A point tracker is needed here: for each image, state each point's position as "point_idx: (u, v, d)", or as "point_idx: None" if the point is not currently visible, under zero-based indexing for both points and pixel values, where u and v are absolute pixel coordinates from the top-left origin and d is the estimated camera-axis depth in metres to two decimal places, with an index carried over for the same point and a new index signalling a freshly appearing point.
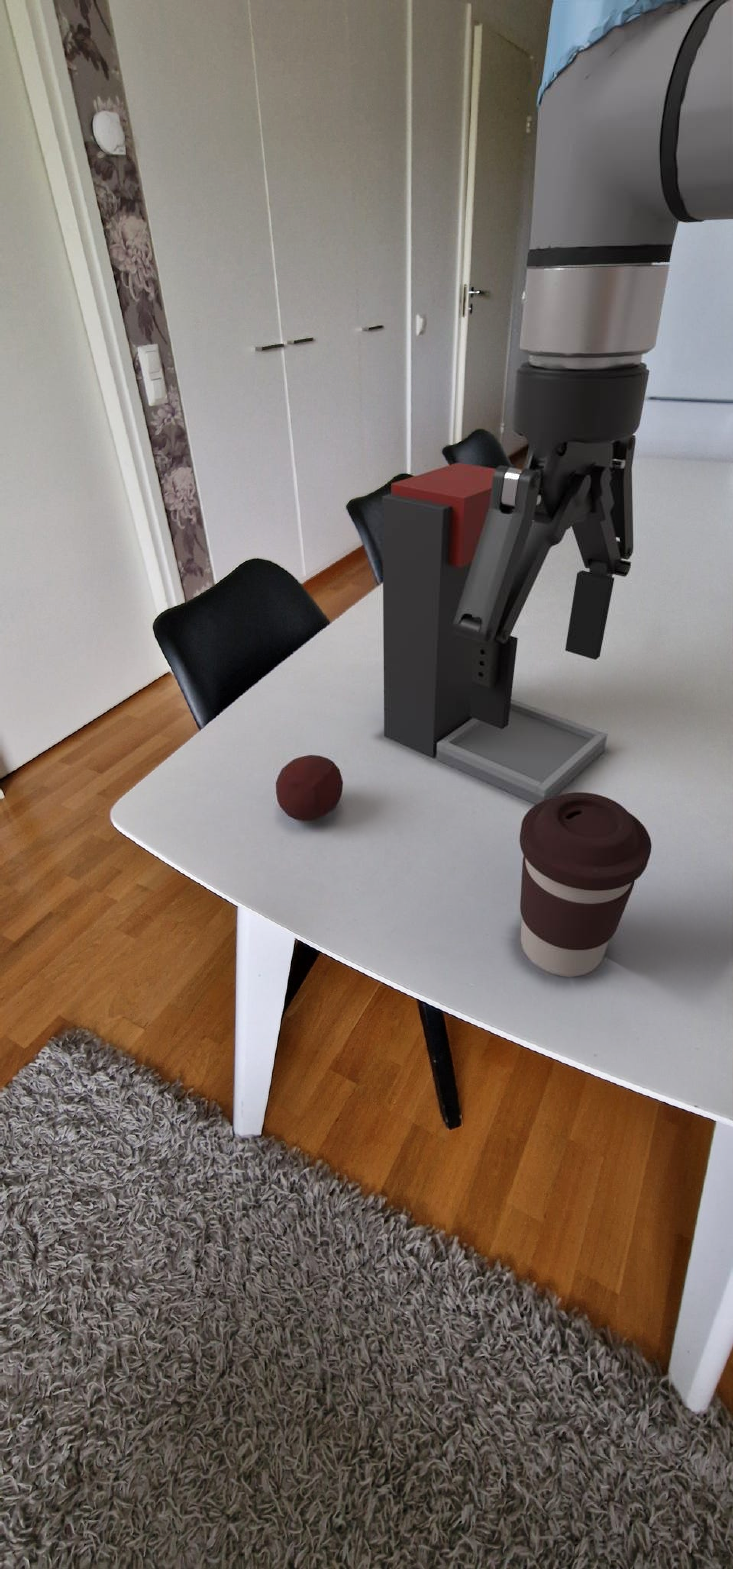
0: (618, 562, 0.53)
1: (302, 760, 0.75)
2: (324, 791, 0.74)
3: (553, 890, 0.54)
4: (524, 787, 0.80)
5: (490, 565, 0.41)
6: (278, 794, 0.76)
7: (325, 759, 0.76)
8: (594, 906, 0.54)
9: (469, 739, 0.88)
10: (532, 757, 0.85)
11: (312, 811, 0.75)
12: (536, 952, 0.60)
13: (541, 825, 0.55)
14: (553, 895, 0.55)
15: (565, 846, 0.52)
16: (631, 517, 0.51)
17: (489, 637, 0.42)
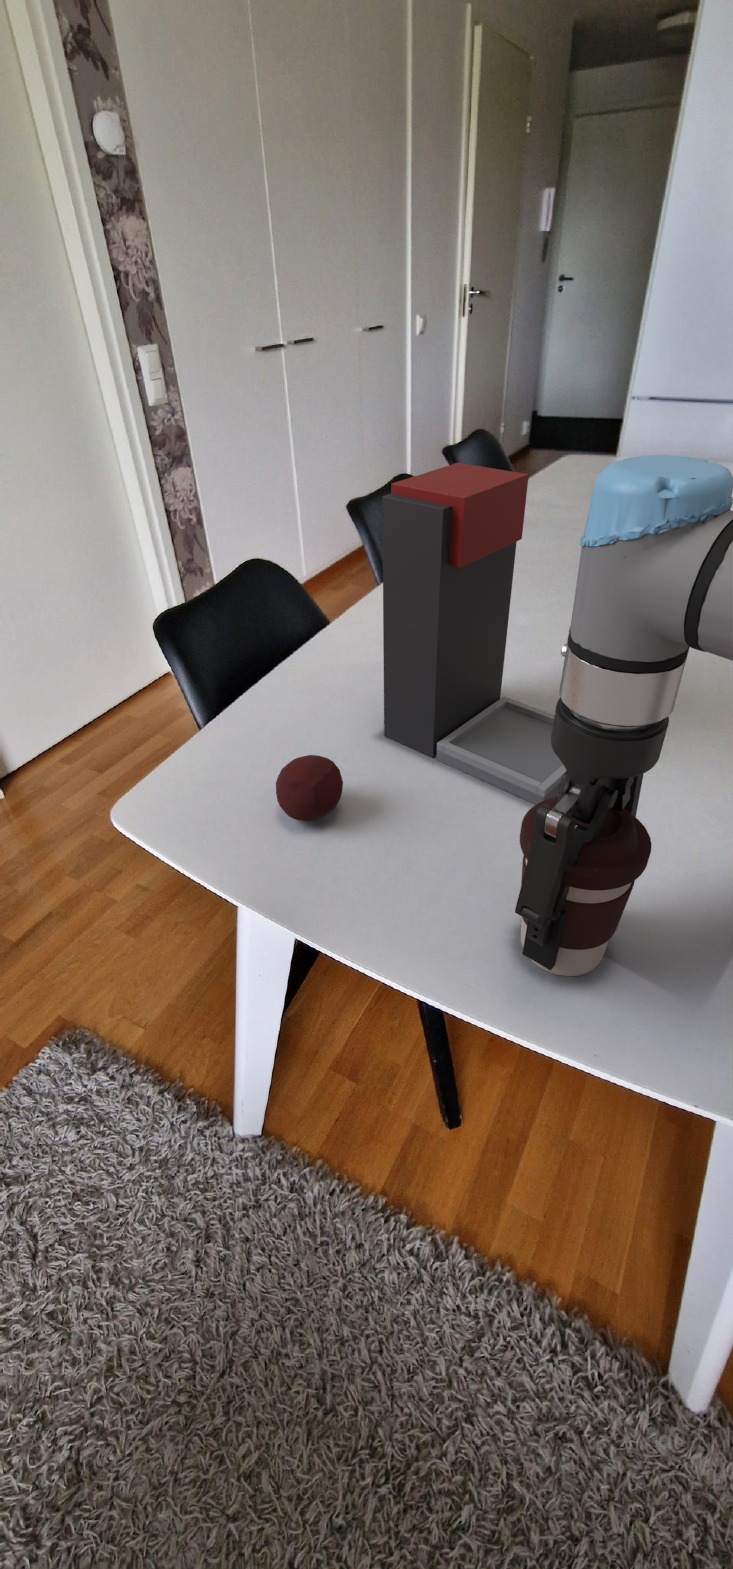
0: None
1: (302, 760, 0.75)
2: (324, 791, 0.74)
3: None
4: (524, 787, 0.80)
5: (540, 876, 0.51)
6: (278, 794, 0.76)
7: (325, 759, 0.76)
8: (594, 906, 0.54)
9: (469, 739, 0.88)
10: (532, 757, 0.85)
11: (312, 811, 0.75)
12: None
13: None
14: None
15: None
16: (637, 800, 0.59)
17: (546, 925, 0.52)
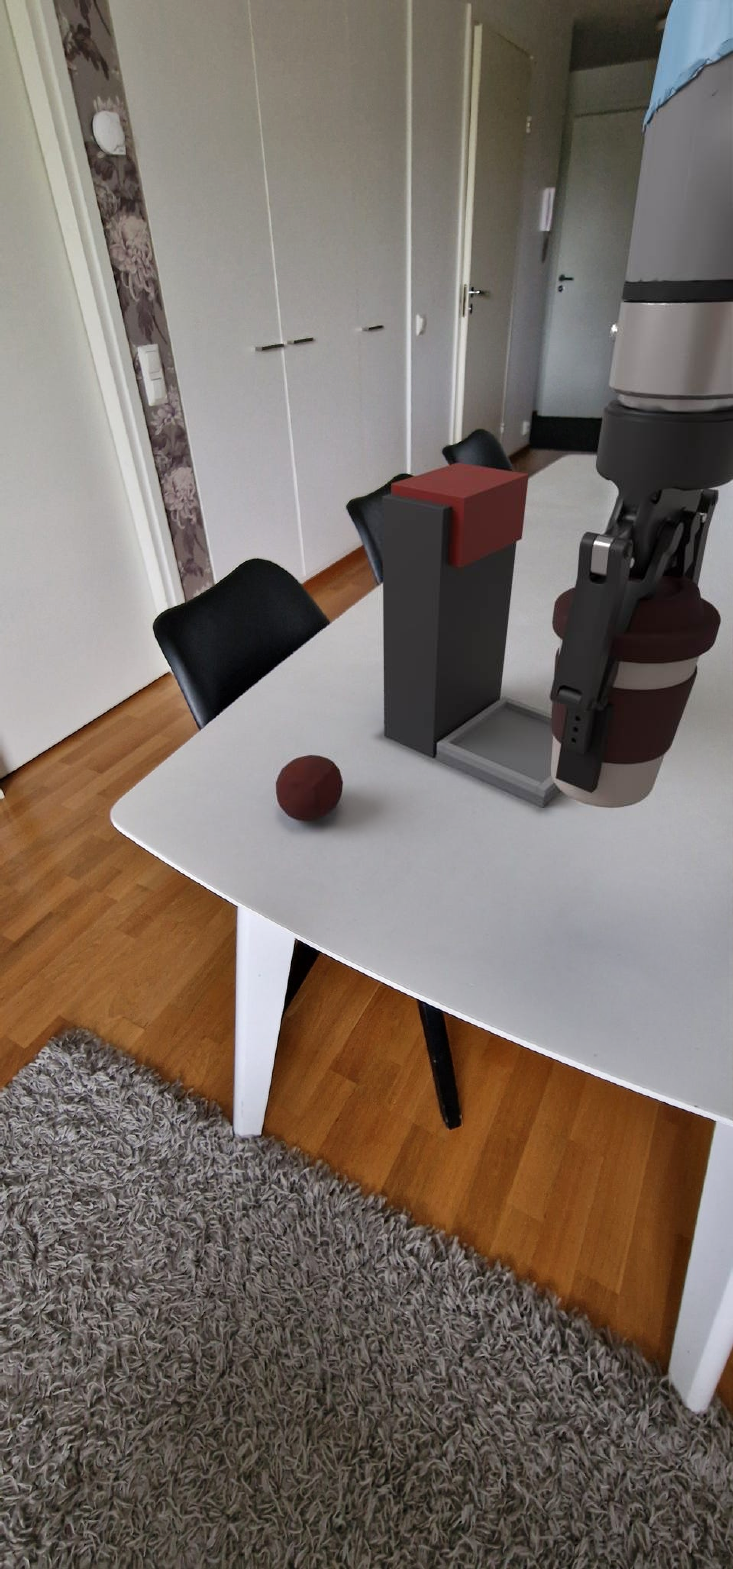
0: None
1: (302, 760, 0.75)
2: (324, 791, 0.74)
3: None
4: (524, 787, 0.80)
5: (584, 637, 0.39)
6: (278, 794, 0.76)
7: (325, 759, 0.76)
8: (649, 693, 0.43)
9: (469, 739, 0.88)
10: (532, 757, 0.85)
11: (312, 811, 0.75)
12: None
13: None
14: None
15: None
16: (697, 585, 0.48)
17: (591, 708, 0.41)
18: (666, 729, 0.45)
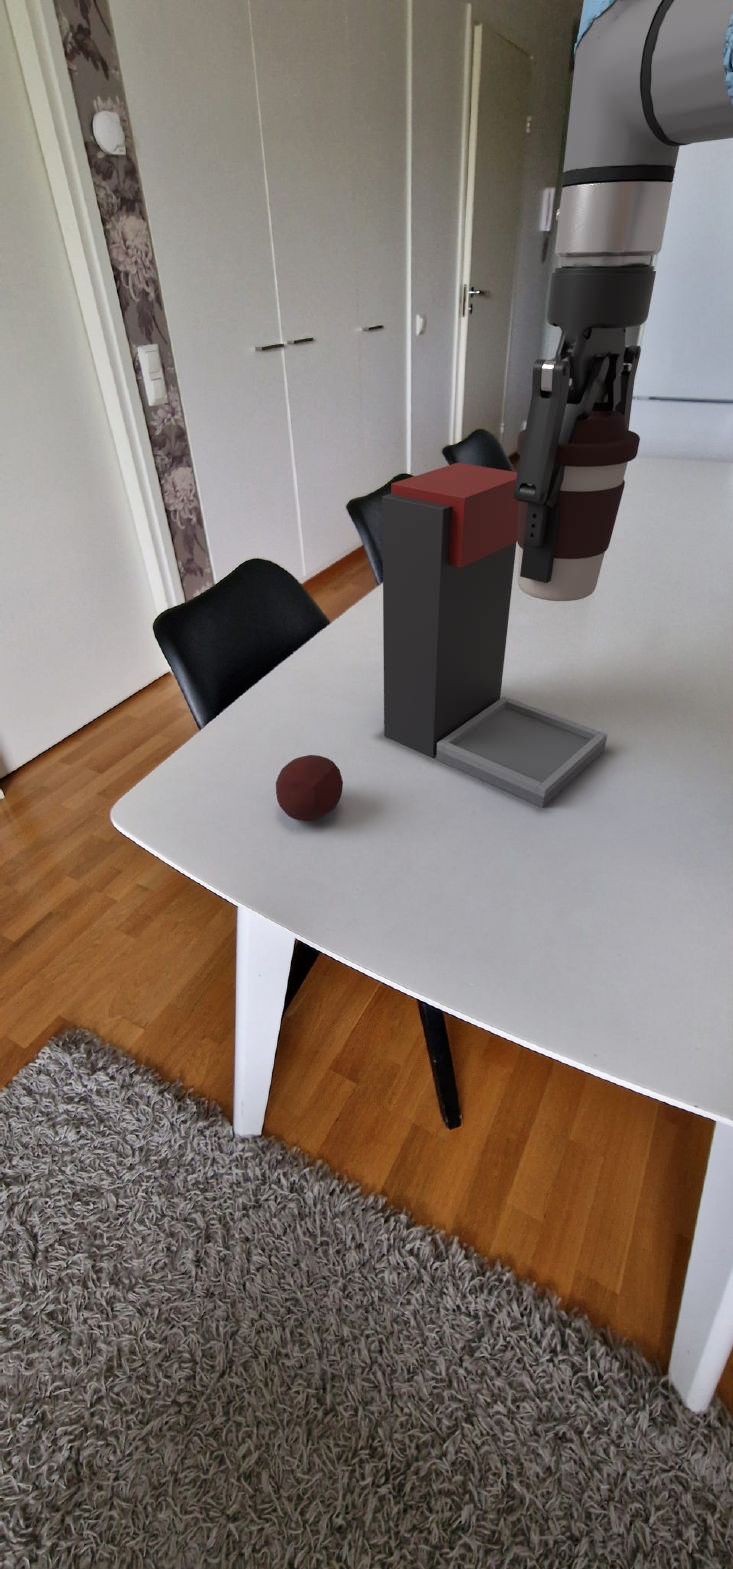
0: None
1: (302, 760, 0.75)
2: (324, 791, 0.74)
3: None
4: (524, 787, 0.80)
5: (537, 442, 0.54)
6: (278, 794, 0.76)
7: (325, 759, 0.76)
8: (587, 494, 0.58)
9: (469, 739, 0.88)
10: (532, 757, 0.85)
11: (312, 811, 0.75)
12: None
13: None
14: None
15: None
16: (628, 427, 0.63)
17: (542, 499, 0.56)
18: (601, 529, 0.60)
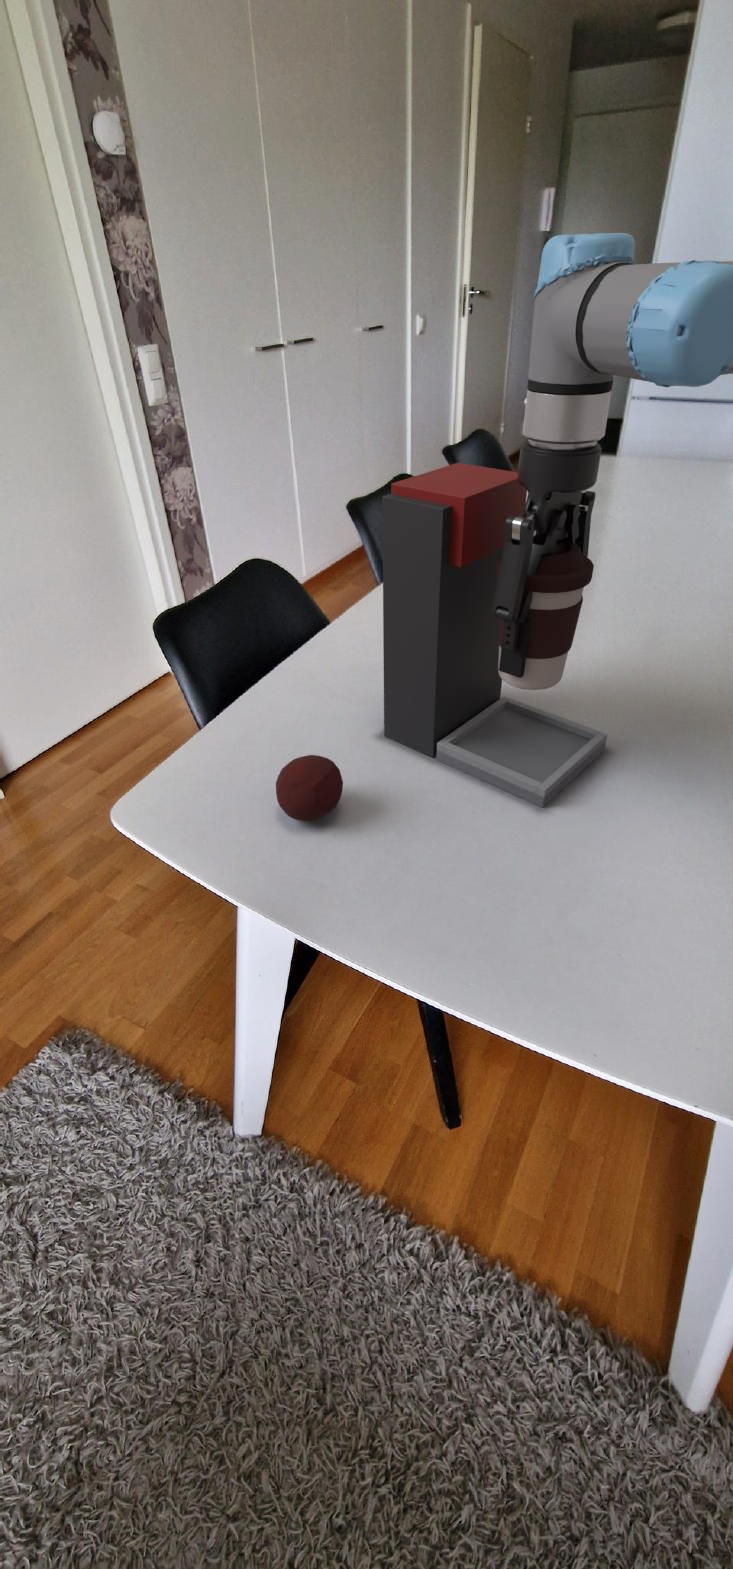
0: None
1: (302, 760, 0.75)
2: (324, 791, 0.74)
3: None
4: (524, 787, 0.80)
5: (509, 576, 0.69)
6: (278, 794, 0.76)
7: (325, 759, 0.76)
8: (550, 612, 0.72)
9: (469, 739, 0.88)
10: (532, 757, 0.85)
11: (312, 811, 0.75)
12: None
13: None
14: None
15: None
16: (587, 550, 0.77)
17: (514, 619, 0.70)
18: (563, 636, 0.74)
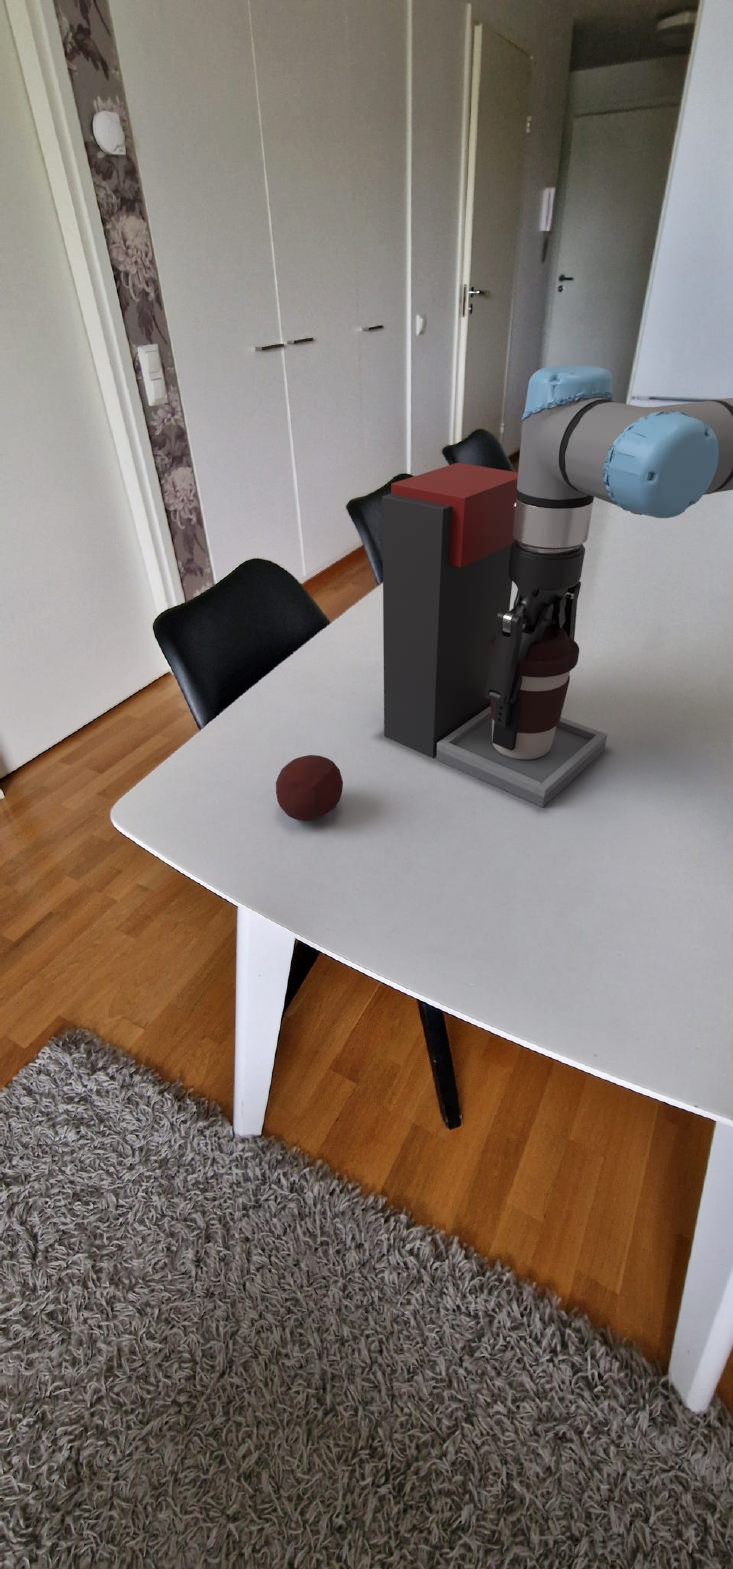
0: None
1: (302, 760, 0.75)
2: (324, 791, 0.74)
3: None
4: (524, 787, 0.80)
5: (501, 664, 0.74)
6: (278, 794, 0.76)
7: (325, 759, 0.76)
8: (539, 693, 0.78)
9: (469, 739, 0.88)
10: None
11: (312, 811, 0.75)
12: None
13: None
14: None
15: None
16: (574, 631, 0.83)
17: (505, 702, 0.76)
18: (552, 713, 0.80)
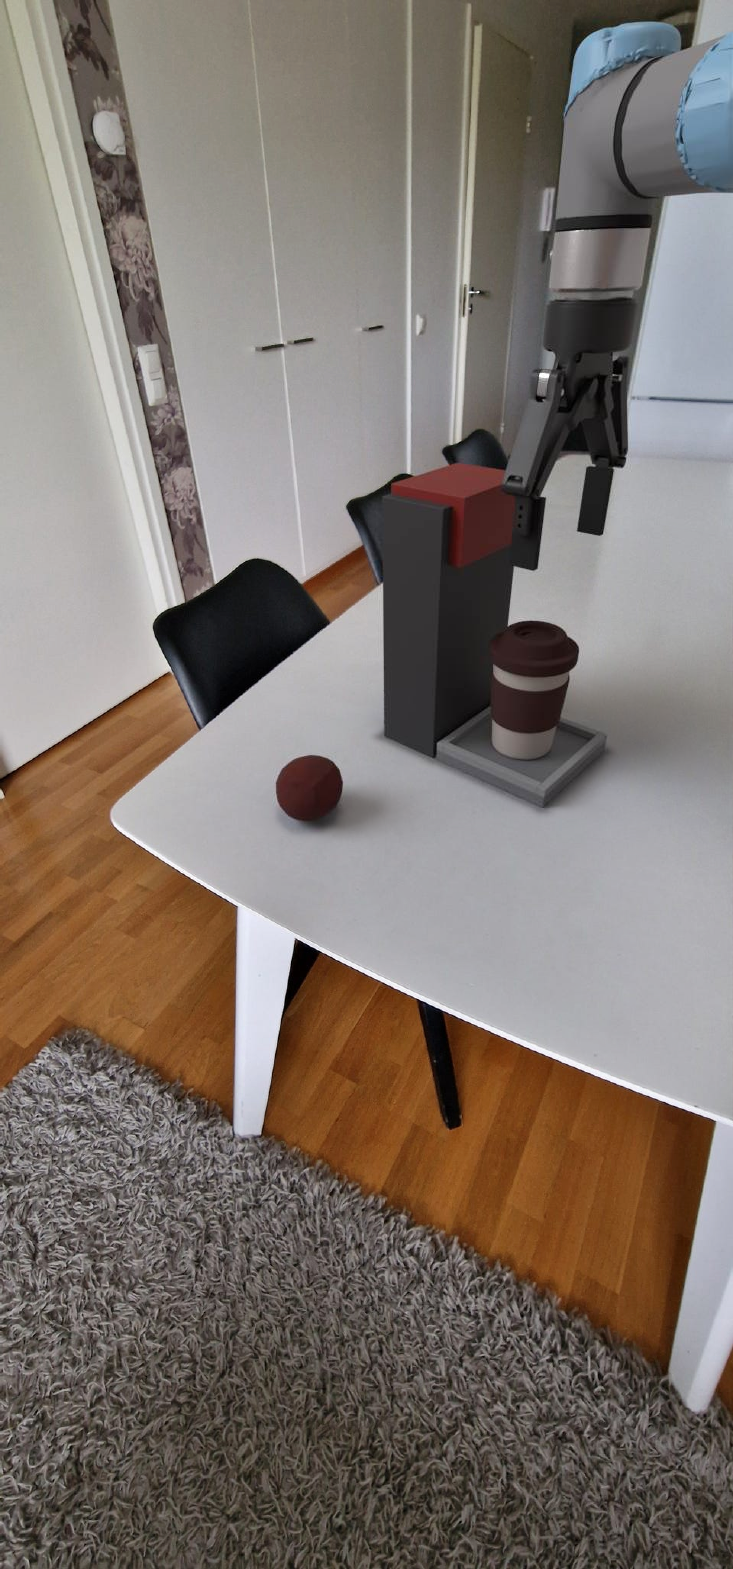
0: (617, 457, 0.71)
1: (302, 760, 0.75)
2: (324, 791, 0.74)
3: (511, 683, 0.78)
4: (524, 787, 0.80)
5: (528, 439, 0.60)
6: (278, 794, 0.76)
7: (325, 759, 0.76)
8: (539, 693, 0.78)
9: (469, 739, 0.88)
10: None
11: (312, 811, 0.75)
12: (502, 742, 0.84)
13: (503, 638, 0.78)
14: (511, 687, 0.78)
15: (518, 647, 0.76)
16: (626, 422, 0.70)
17: (527, 491, 0.61)
18: (552, 713, 0.80)
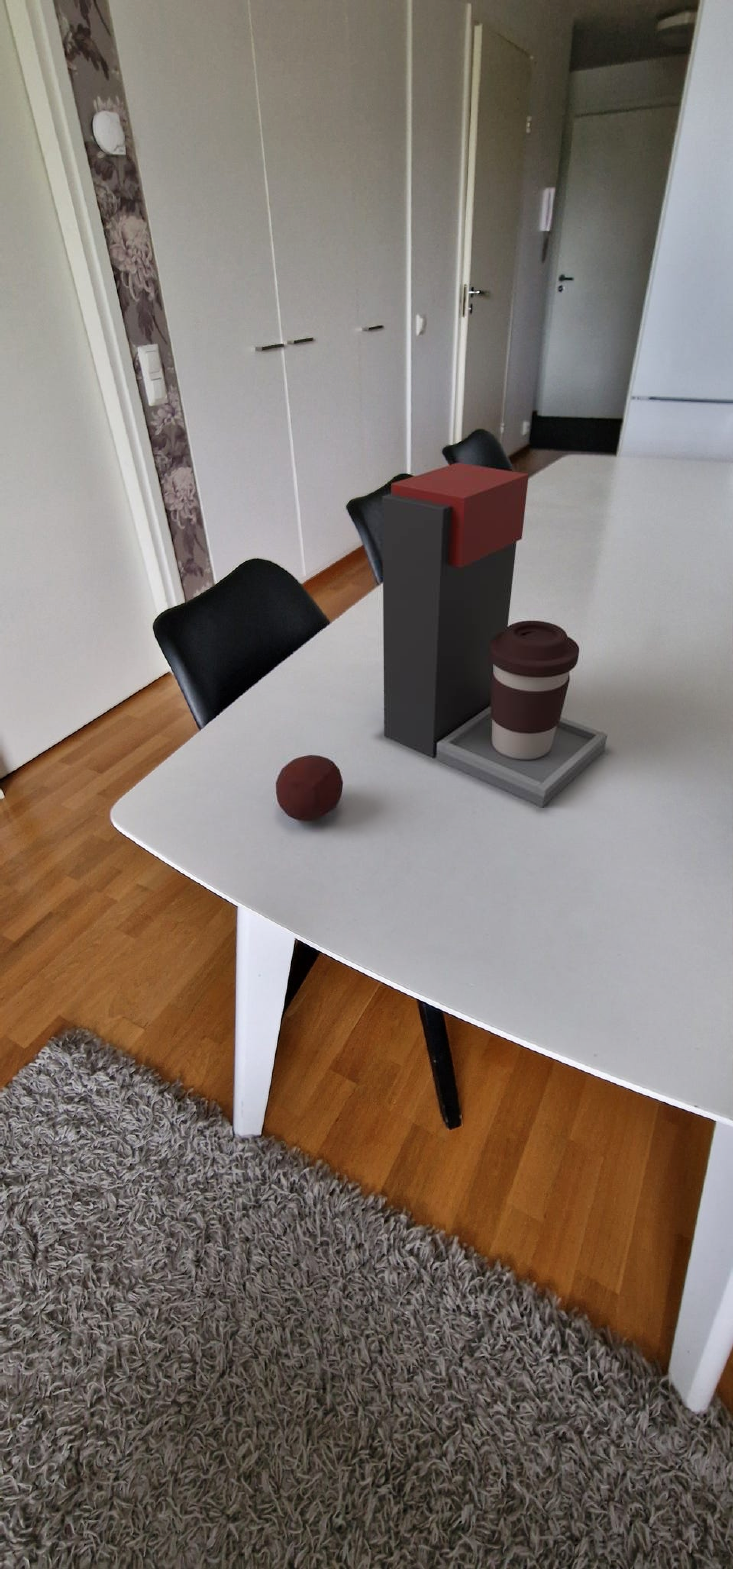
0: None
1: (302, 760, 0.75)
2: (324, 791, 0.74)
3: (511, 683, 0.78)
4: (524, 787, 0.80)
5: None
6: (278, 794, 0.76)
7: (325, 759, 0.76)
8: (539, 693, 0.78)
9: (469, 739, 0.88)
10: None
11: (312, 811, 0.75)
12: (502, 742, 0.84)
13: (503, 638, 0.78)
14: (511, 687, 0.78)
15: (518, 647, 0.76)
16: None
17: None
18: (552, 713, 0.80)
